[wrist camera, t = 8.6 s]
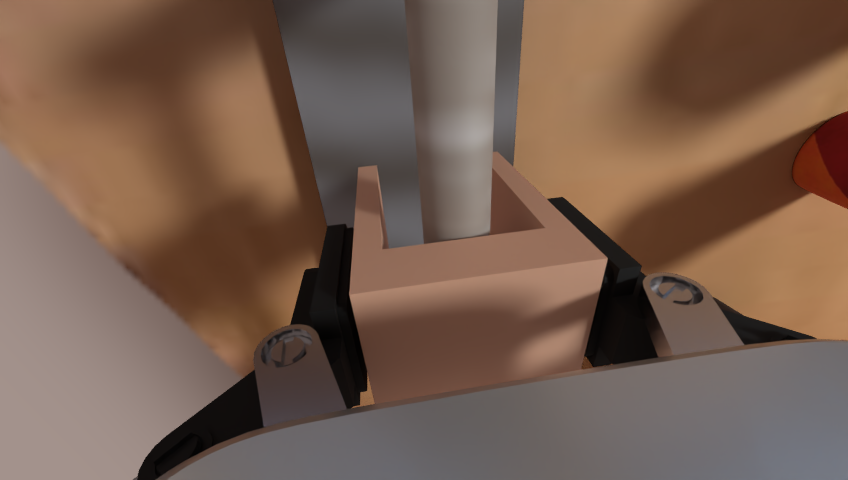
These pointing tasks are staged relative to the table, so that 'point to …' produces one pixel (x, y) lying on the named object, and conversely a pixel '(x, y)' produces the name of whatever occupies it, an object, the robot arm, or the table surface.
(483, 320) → the open topped box
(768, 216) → the table surface
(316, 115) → the rack
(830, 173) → the paper cup
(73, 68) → the table surface
